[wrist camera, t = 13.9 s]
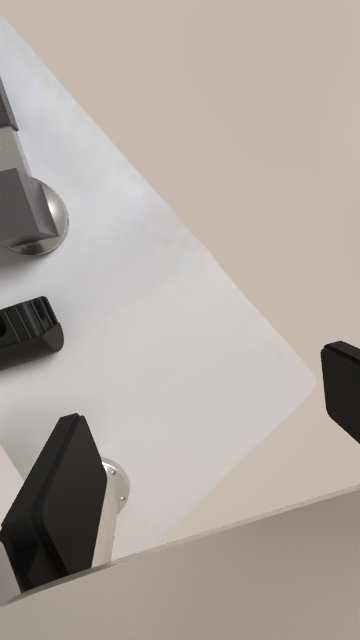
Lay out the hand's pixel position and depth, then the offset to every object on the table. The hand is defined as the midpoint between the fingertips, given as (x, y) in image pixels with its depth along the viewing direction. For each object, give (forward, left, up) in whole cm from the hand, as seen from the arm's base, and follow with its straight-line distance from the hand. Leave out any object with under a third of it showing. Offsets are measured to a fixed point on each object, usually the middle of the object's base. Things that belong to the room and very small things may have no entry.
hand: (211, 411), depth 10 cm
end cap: (0, +20, -29) cm, 35 cm away
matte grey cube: (+14, +14, -27) cm, 33 cm away
